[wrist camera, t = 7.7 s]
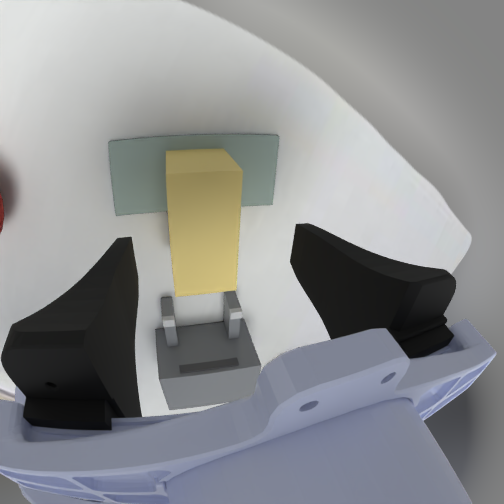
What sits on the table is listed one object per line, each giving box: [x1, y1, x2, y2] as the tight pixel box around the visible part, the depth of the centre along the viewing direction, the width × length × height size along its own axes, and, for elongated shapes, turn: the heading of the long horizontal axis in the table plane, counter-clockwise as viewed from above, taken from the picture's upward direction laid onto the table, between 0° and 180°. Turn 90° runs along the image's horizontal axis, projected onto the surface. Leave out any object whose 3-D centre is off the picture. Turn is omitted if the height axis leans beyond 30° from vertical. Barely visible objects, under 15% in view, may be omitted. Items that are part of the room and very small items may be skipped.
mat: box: [108, 134, 279, 216], centre depth 20 cm, size 12×6×1 cm, turn 85°
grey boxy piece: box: [155, 290, 261, 410], centre depth 26 cm, size 9×10×6 cm
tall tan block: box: [166, 148, 243, 297], centre depth 19 cm, size 4×8×6 cm, turn 175°
